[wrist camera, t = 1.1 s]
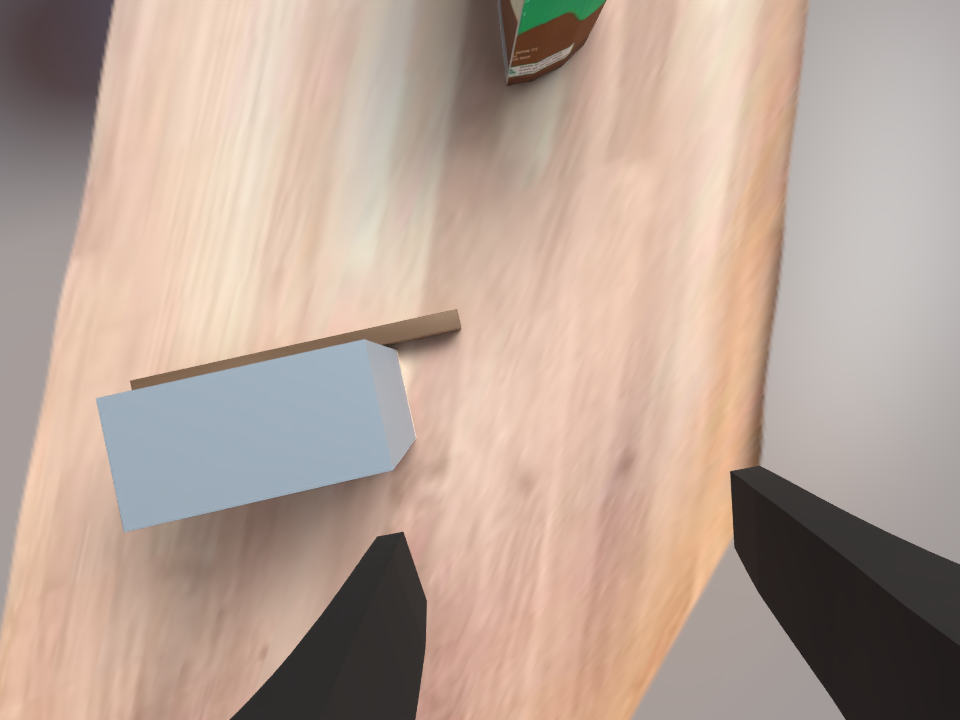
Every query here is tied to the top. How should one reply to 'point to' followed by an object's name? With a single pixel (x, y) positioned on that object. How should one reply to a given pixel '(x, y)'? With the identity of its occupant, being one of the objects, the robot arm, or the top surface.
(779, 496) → the robot arm
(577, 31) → the food container
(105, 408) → the block
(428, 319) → the batten
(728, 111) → the top surface
